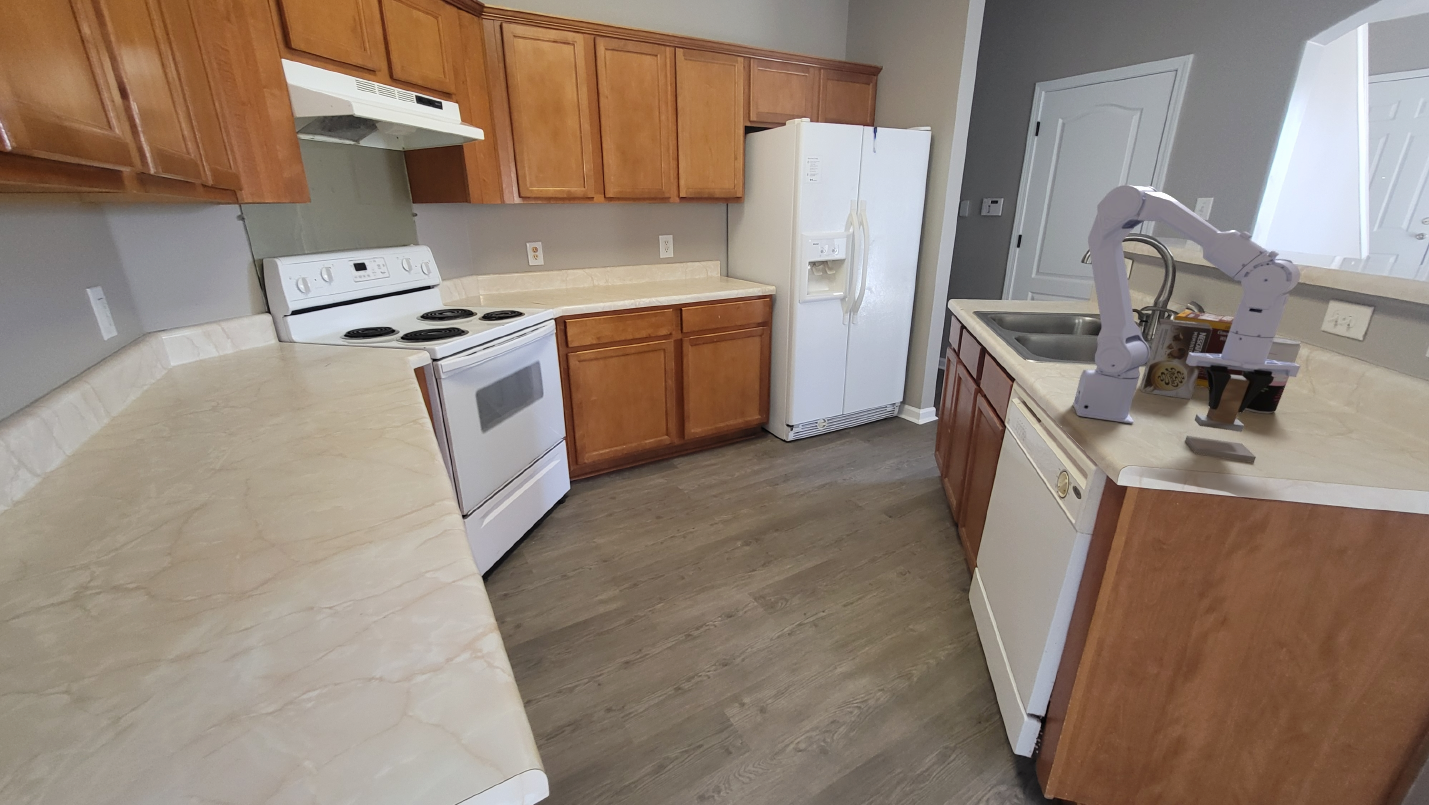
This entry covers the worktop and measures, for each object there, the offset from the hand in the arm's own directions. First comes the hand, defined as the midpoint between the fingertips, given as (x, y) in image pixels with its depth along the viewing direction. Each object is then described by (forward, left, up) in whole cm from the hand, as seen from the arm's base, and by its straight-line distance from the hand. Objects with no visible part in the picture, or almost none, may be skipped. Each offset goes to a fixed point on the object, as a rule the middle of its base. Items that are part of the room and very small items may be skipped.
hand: (1224, 409), depth 101 cm
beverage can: (+15, +28, -7) cm, 32 cm away
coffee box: (0, +32, -7) cm, 33 cm away
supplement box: (+10, +47, -7) cm, 48 cm away
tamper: (0, +1, -3) cm, 3 cm away
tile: (0, 0, -7) cm, 7 cm away
